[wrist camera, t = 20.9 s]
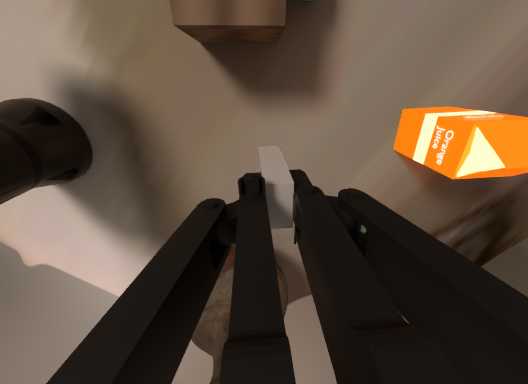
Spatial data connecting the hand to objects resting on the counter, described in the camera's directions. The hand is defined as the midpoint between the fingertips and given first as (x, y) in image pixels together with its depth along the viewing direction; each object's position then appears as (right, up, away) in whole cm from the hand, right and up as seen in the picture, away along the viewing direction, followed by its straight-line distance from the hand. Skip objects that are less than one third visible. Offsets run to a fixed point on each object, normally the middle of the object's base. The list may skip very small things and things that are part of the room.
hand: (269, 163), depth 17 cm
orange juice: (+30, +10, +24) cm, 40 cm away
